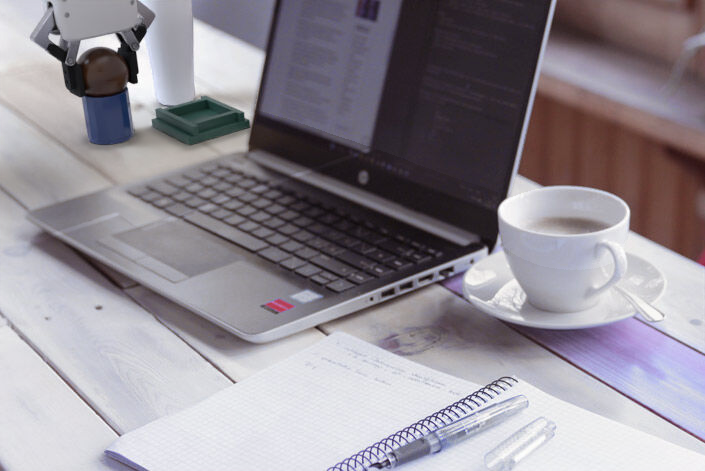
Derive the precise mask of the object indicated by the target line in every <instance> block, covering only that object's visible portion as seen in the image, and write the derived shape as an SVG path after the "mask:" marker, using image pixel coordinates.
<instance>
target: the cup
mask: <svg viewBox="0 0 705 471" xmlns="http://www.w3.org/2000/svg"><path fill="white" fill-rule="evenodd" d="M81 102H82V103H81V104H82V109H83V115H84V116H83V117H84V122H85V128H86V134H87V135H86V136H87V140H88V141H89V142H90V143H92V144H95V145H103V146H105V145H115V144H116V145H117V144H121V143H124V142H127V141H129V140H130V139H132V138H133V137H134V135H135V129H134V122H133V121H134V120H133V114H132V107H131V100H130V93H129V87H128V85H127V86H126V88H125V89H124V90H123V92H121V93H119V94H116V95H112V96H106V97H92V96H87V95H85V96H84V97H81Z"/></svg>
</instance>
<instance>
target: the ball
mask: <svg viewBox="0 0 705 471" xmlns="http://www.w3.org/2000/svg"><path fill="white" fill-rule="evenodd" d="M76 61H77V63H78V64H80V65H81V67H82V73H83V80H84V86H85V92H86V95H87V96H92V97H106V96H112V95H116V94H119V93H121V92H123V90H124V89H125V88H126V86H127V87H128V84H129V82H128V80H129V69H128V66H127V63H126V61H125V60H124V58H123V57H122V56H121V55H120V54H119V53H118V52H117V50H115V49H113V48H112V47H107V46H95V47H91V48H89V49H86V50H85V51H84V52H83V53H82V54H81V55H80V56H79V57H77V59H76Z"/></svg>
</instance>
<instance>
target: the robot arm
mask: <svg viewBox="0 0 705 471" xmlns="http://www.w3.org/2000/svg"><path fill="white" fill-rule="evenodd" d="M42 6H43V16H42V17H41V19H40V21H39V22H38V23H37V25H36V26H35V28H34V29H33V31H32V32H31V33H30V35H29V39H30V41H31V42H33V43H34V44H35V45H36V46H38V47H39V48H40V49H42V50H44V51H45V52H46V53H47V54H49V55H50V56H52V57H53V58H55V59H56V60H57V61H59V62H60V63H61V70H62V75H63V80H64V86H65V88H66V90H67V91H68V92H69V93H70V94H72V95H74V96H76V97H78V98H81V99H82V97H84V96H85V95H86V92H85V86H84V80H83V73H82V67H81V65H80V64H78V63H77V60H78V54H79V49H80V45H81V41H84V40H90V39H94V38H98V37H105V36H109V35H112V34H113V35H114V36H115V38H116V39H117V41H118V43H119V44H120V47H117V50H116V52H118V53H119V54H120V55H121V56H122V57H123V58H124V60H125V61H126V63H127V66H128V69H129V80H128V84H132V85H137V84H139V80H138V79H139V78H138V75H139V73H140V70H139V62H138V54H137V53H138V51H139V50H140V47H141V45H140V43H142V41H143V40H144V39H145V38H144V36H145V35H146V33H147V29H148V28H149V27H150V25H151V23H152V22H153V20H154V19H155V13H154V12H153V11H151V10H150V9H149V8H148V7H146V6H145V5H144V4H143V3H141V2H140V1H139V0H42ZM50 35H53V36H60V37H59V41H58V44H56V43H55V42H53V41H52V40H51V39H50V38H49V36H50Z"/></svg>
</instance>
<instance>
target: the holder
mask: <svg viewBox="0 0 705 471" xmlns="http://www.w3.org/2000/svg"><path fill="white" fill-rule="evenodd" d="M154 113H155V118H152V119H151V127H153V128H155V129H157V130H159V131H161V132H163V133H165V134H166V135H168V136H171V137H173V138H174V139H177V140H178V141H181V142H182V143H184V144H185V145H188V146H191V145H194V144H198V143H201V142H205V141H208V140H212V139H215V138H219V137H221V136H224V135H228V134H231V133H235V132H238V131H241V130H245V129H248V128H251V121H250V119H249V118H247V117H245V111H242V110H240V109H238V108H236V107H233V106H231V105H229V104H227V103H224V102H222V101H220V100H217V99H215V98H213V97H210V96H208V95H201V96H200V98H199V99H194V100H193V101H190V102H187V103H183V104H179V105H176V106H169V107H165V108H162V107H157V108H154Z"/></svg>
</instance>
